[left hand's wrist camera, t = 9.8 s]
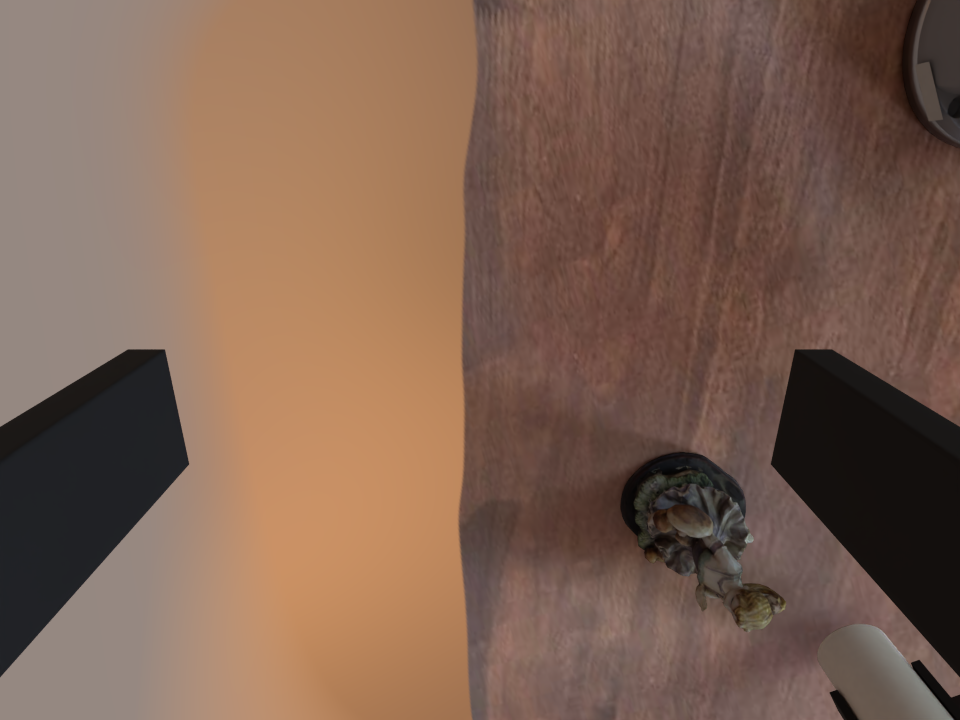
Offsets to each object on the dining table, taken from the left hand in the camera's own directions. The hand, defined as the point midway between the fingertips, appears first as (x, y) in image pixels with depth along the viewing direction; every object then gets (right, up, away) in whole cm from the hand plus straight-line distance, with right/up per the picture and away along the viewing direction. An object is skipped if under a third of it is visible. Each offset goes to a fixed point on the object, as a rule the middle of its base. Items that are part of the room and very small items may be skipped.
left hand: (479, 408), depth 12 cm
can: (+37, -27, +44) cm, 64 cm away
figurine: (+19, -12, +41) cm, 47 cm away
